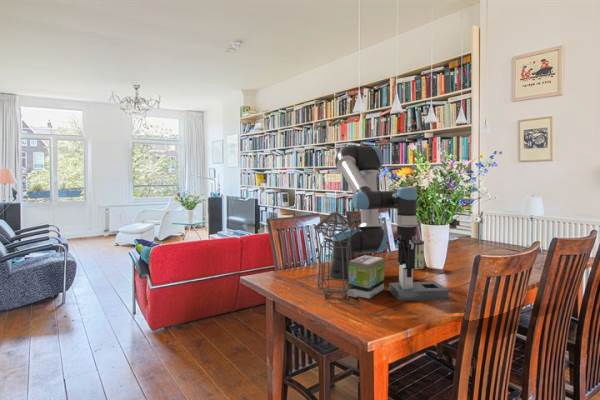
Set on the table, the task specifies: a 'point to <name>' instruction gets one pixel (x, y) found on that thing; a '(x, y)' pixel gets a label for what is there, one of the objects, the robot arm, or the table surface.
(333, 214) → the geometric lantern
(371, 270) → the tea box
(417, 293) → the block
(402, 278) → the plug
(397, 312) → the table surface
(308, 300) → the table surface
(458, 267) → the table surface
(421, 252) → the coffee can
